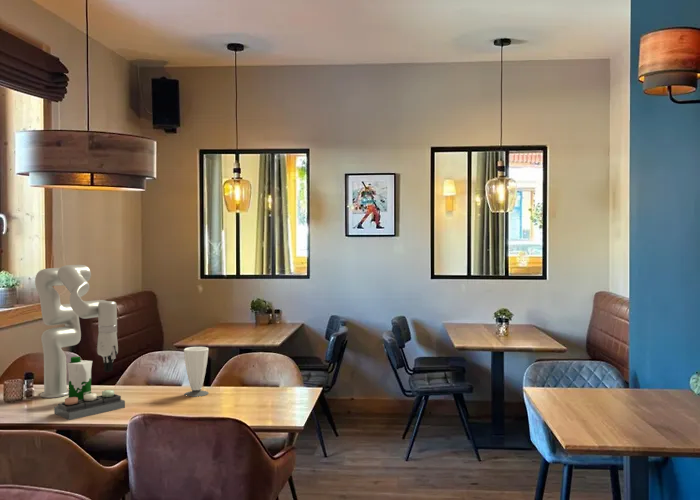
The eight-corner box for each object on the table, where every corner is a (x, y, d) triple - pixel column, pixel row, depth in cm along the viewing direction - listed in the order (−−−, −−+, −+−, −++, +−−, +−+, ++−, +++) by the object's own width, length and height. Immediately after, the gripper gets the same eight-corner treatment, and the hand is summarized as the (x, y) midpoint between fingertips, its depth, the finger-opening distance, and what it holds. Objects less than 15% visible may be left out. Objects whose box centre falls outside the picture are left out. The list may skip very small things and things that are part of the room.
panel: (54, 413, 248) (54, 402, 248) (109, 402, 266) (109, 391, 266) (69, 420, 239) (69, 408, 239) (124, 407, 257) (124, 397, 257)
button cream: (81, 399, 252) (81, 394, 252) (93, 397, 256) (93, 392, 256) (87, 401, 249) (87, 396, 249) (98, 399, 253) (98, 394, 253)
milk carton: (77, 398, 273) (77, 355, 273) (95, 399, 271) (94, 356, 271) (64, 403, 264) (64, 359, 264) (82, 404, 262) (82, 359, 262)
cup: (213, 393, 282) (213, 347, 282) (195, 398, 273) (195, 351, 272) (197, 389, 289) (196, 345, 288) (178, 394, 279) (178, 349, 279)
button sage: (99, 395, 259) (99, 391, 259) (110, 393, 262) (110, 389, 262) (105, 397, 255) (105, 393, 255) (116, 395, 259) (116, 391, 259)
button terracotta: (62, 403, 246) (62, 398, 246) (74, 401, 250) (74, 396, 250) (67, 405, 243) (67, 400, 243) (80, 403, 247) (80, 398, 247)
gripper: (91, 329, 260) (92, 370, 260) (108, 331, 251) (108, 375, 251) (107, 327, 266) (108, 368, 266) (124, 329, 256) (125, 372, 256)
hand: (108, 371), depth 258 cm, fingers closed
